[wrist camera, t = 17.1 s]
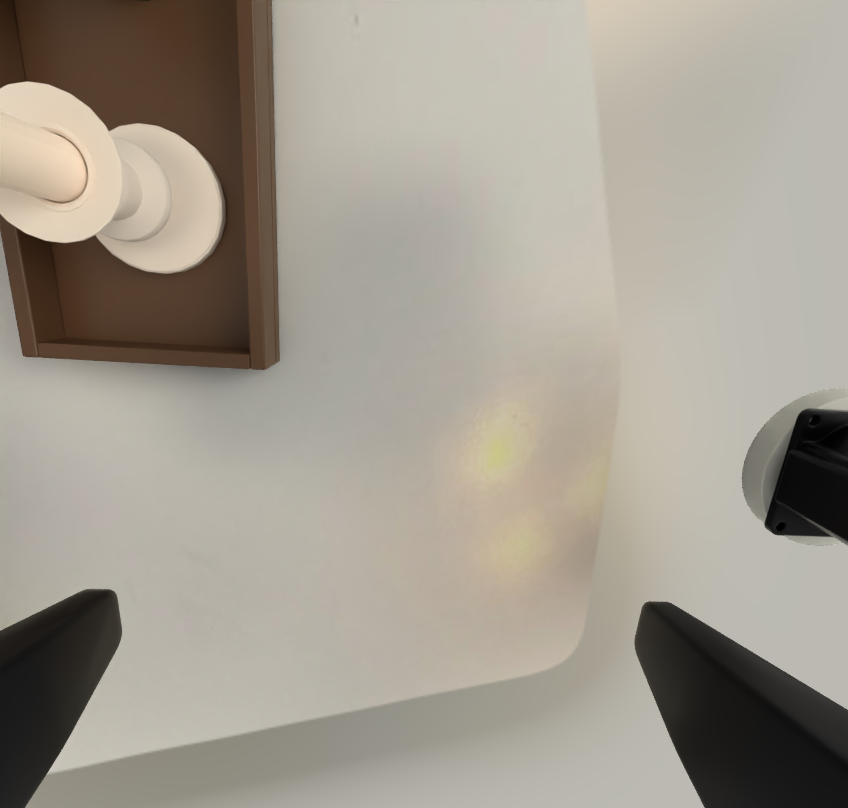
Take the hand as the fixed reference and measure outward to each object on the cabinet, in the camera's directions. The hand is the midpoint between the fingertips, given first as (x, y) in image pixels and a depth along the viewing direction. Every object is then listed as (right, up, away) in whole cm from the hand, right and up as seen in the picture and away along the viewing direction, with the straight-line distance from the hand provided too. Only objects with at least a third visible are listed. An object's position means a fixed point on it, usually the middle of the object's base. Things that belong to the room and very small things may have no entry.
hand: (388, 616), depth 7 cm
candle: (-10, +11, +9) cm, 18 cm away
